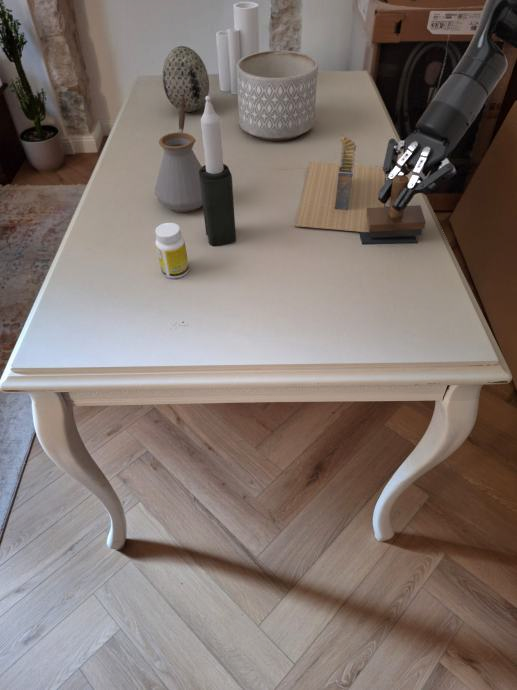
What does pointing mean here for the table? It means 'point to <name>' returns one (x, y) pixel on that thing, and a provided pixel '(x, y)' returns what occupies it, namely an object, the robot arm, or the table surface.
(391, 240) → the mat
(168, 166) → the grey ribbed jar
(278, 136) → the planter
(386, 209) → the brown block with cylinder
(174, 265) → the supplement bottle
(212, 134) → the candle
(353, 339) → the table surface
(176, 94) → the decorative egg
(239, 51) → the vase
